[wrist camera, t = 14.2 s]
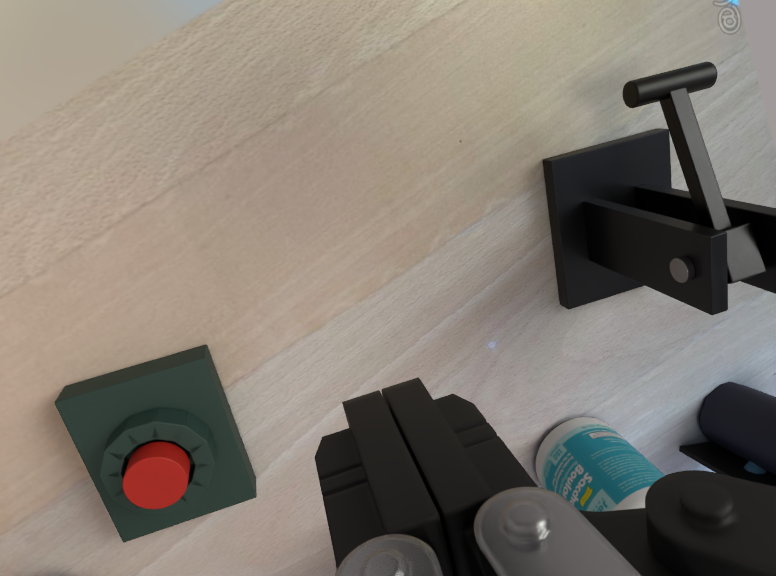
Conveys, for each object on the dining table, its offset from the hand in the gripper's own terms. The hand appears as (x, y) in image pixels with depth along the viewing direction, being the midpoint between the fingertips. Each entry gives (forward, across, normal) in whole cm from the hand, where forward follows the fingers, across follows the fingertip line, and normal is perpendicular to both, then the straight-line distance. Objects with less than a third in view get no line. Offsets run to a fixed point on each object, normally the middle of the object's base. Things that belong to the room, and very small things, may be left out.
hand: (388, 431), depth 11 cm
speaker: (+27, -31, +27) cm, 49 cm away
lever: (+19, -22, +3) cm, 29 cm away
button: (+23, +12, +13) cm, 29 cm away
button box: (+27, +12, +13) cm, 32 cm away
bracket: (+27, -22, +7) cm, 36 cm away
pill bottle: (+27, -17, +26) cm, 41 cm away
